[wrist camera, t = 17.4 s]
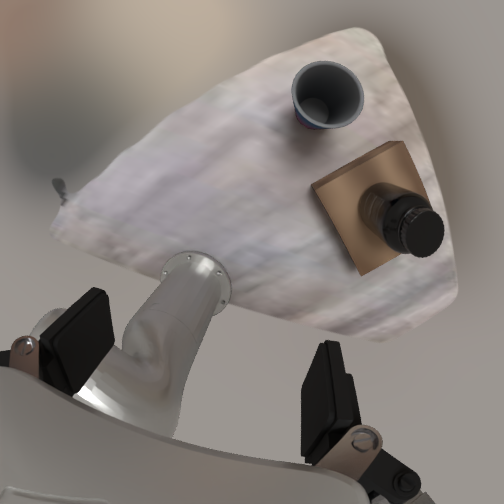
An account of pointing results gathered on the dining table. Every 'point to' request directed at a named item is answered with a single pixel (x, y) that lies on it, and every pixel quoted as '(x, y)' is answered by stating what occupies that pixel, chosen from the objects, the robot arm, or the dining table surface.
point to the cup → (326, 95)
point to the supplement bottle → (402, 219)
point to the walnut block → (351, 191)
